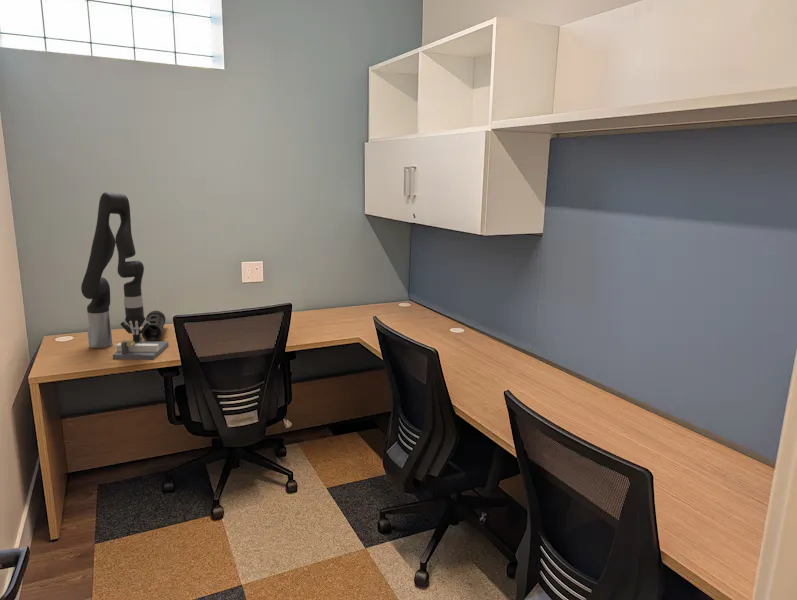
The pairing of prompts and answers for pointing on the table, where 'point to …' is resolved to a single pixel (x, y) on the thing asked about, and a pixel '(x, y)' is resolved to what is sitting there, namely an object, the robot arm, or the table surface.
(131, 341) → the swing bar
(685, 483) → the table surface
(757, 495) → the table surface
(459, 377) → the table surface
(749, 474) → the table surface
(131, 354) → the lock board
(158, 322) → the muzzle brake
